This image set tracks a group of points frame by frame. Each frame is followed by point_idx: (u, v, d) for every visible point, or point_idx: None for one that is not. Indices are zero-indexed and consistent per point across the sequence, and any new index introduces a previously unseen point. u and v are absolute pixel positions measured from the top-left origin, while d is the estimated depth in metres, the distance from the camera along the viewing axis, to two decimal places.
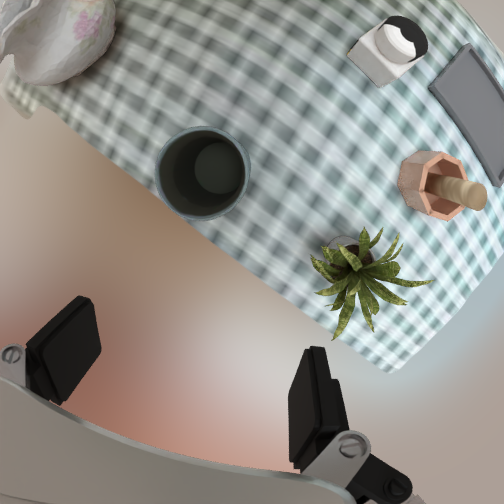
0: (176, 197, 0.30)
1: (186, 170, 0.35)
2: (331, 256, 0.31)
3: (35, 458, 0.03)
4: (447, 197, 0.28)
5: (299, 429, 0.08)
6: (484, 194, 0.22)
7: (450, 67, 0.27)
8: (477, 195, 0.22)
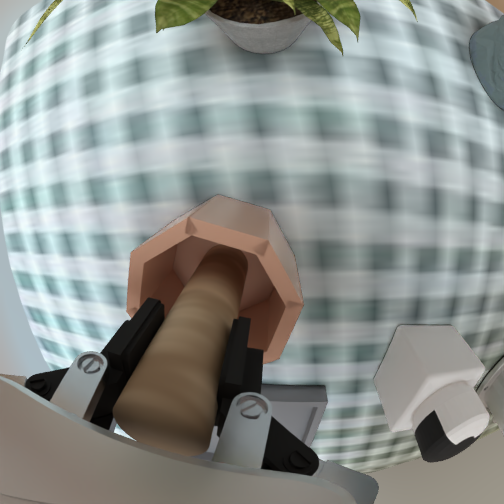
0: None
1: None
2: None
3: (35, 458, 0.03)
4: (196, 304, 0.11)
5: None
6: (151, 443, 0.07)
7: (313, 434, 0.24)
8: (168, 433, 0.07)
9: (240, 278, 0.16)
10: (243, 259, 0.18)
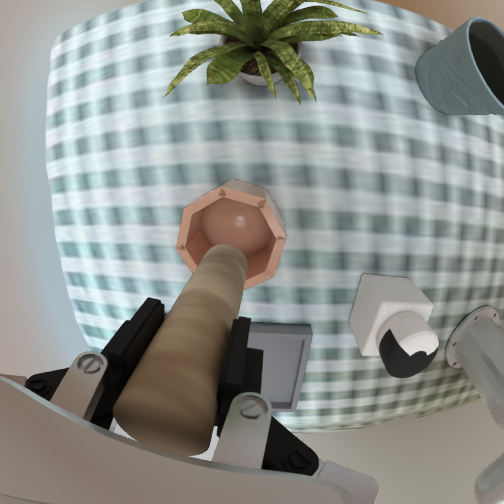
0: (489, 36, 0.11)
1: None
2: None
3: (35, 458, 0.03)
4: (196, 304, 0.11)
5: None
6: (152, 443, 0.07)
7: (304, 370, 0.34)
8: (168, 433, 0.07)
9: (240, 278, 0.16)
10: (243, 259, 0.18)
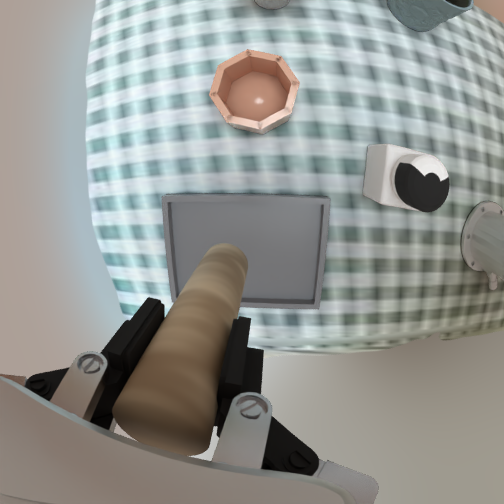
0: None
1: None
2: None
3: (35, 458, 0.03)
4: (195, 303, 0.11)
5: None
6: (152, 442, 0.07)
7: (325, 245, 0.36)
8: (168, 433, 0.07)
9: (240, 277, 0.16)
10: (243, 258, 0.18)
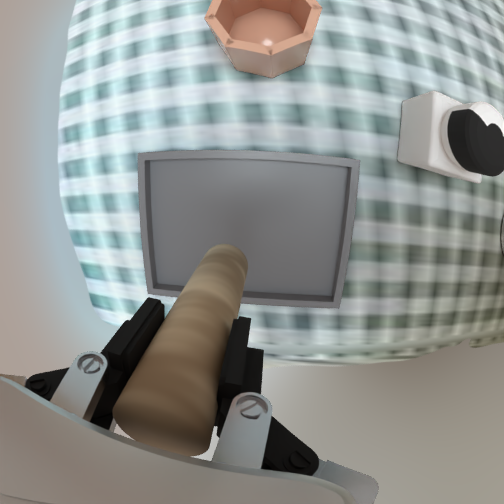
0: None
1: None
2: None
3: (35, 458, 0.03)
4: (195, 304, 0.11)
5: None
6: (151, 443, 0.07)
7: (352, 221, 0.26)
8: (168, 434, 0.07)
9: (240, 278, 0.16)
10: (243, 259, 0.18)
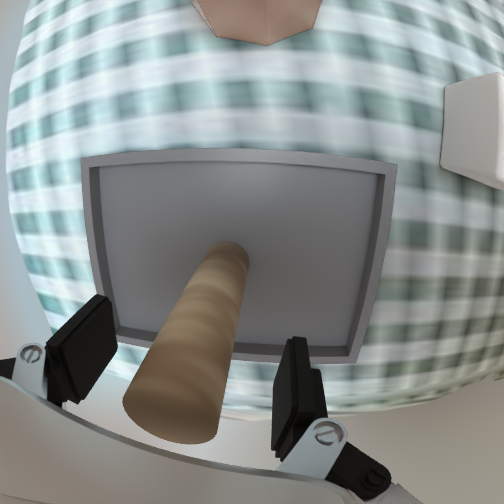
0: None
1: None
2: None
3: (35, 458, 0.03)
4: (201, 297, 0.12)
5: (279, 417, 0.08)
6: (160, 431, 0.08)
7: (382, 253, 0.17)
8: (177, 420, 0.07)
9: (242, 274, 0.17)
10: (244, 256, 0.19)
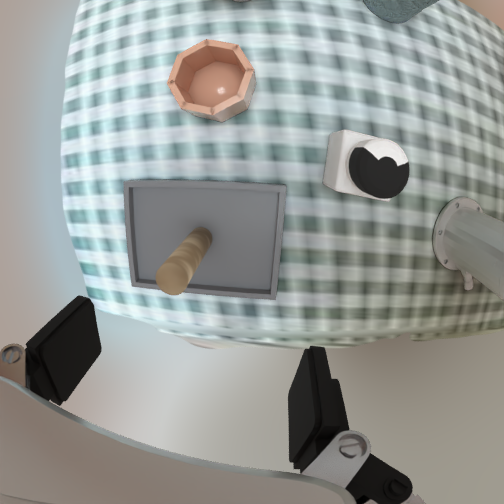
0: None
1: None
2: None
3: (35, 458, 0.03)
4: (185, 245, 0.30)
5: (299, 429, 0.08)
6: (167, 288, 0.26)
7: (281, 233, 0.36)
8: (174, 280, 0.25)
9: (206, 241, 0.35)
10: (209, 234, 0.37)
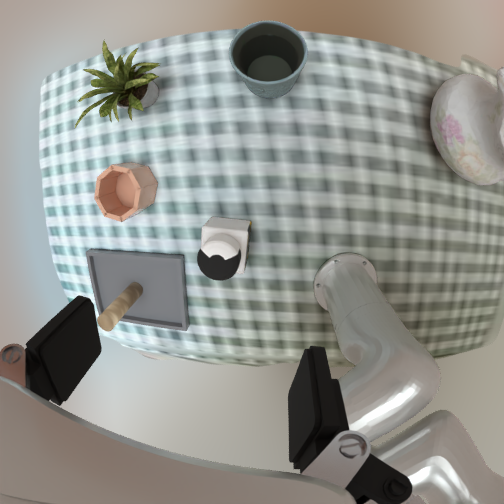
0: (275, 31, 0.28)
1: (288, 55, 0.34)
2: (147, 76, 0.31)
3: (35, 458, 0.03)
4: (117, 300, 0.46)
5: (299, 429, 0.08)
6: (103, 327, 0.41)
7: (181, 289, 0.51)
8: (106, 323, 0.41)
9: (135, 294, 0.50)
10: (139, 287, 0.52)
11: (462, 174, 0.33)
